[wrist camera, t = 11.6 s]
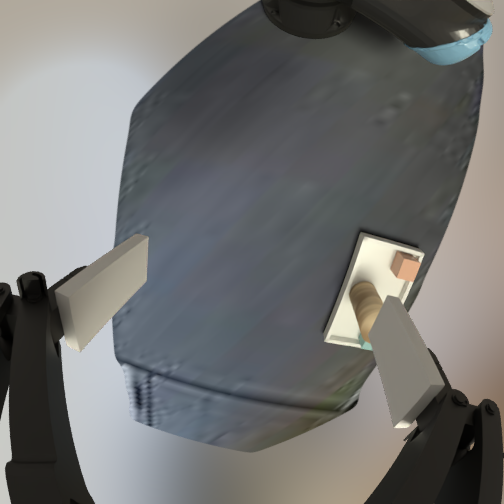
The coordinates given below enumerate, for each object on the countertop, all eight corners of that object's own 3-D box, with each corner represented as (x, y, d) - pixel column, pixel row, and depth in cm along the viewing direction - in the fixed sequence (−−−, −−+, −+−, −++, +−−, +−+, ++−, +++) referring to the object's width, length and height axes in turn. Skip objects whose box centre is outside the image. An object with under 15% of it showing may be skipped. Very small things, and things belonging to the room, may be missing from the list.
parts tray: (360, 231, 43) (364, 236, 41) (418, 248, 43) (424, 253, 41) (323, 333, 51) (324, 341, 49) (376, 342, 51) (379, 350, 48)
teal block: (364, 323, 48) (369, 334, 45) (380, 325, 48) (385, 336, 45) (358, 337, 50) (361, 348, 46) (373, 339, 49) (377, 350, 46)
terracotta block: (397, 250, 43) (404, 258, 39) (413, 255, 43) (421, 263, 39) (390, 269, 44) (396, 278, 41) (406, 273, 44) (413, 282, 41)
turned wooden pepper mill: (354, 278, 45) (369, 313, 35) (379, 284, 45) (399, 318, 35) (345, 302, 47) (356, 341, 37) (369, 308, 47) (384, 345, 37)
